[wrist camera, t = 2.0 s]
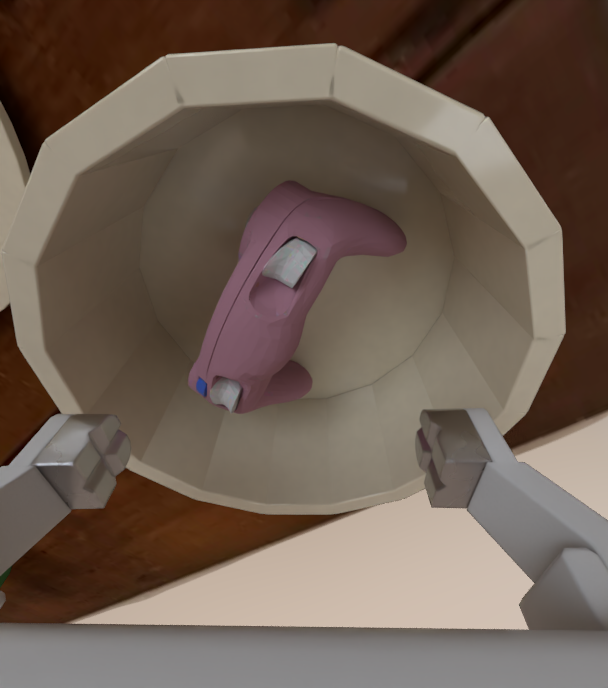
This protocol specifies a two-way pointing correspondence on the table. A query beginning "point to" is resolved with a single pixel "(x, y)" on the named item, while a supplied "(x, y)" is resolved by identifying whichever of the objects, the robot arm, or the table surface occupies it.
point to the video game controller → (281, 293)
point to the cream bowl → (332, 302)
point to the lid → (9, 188)
